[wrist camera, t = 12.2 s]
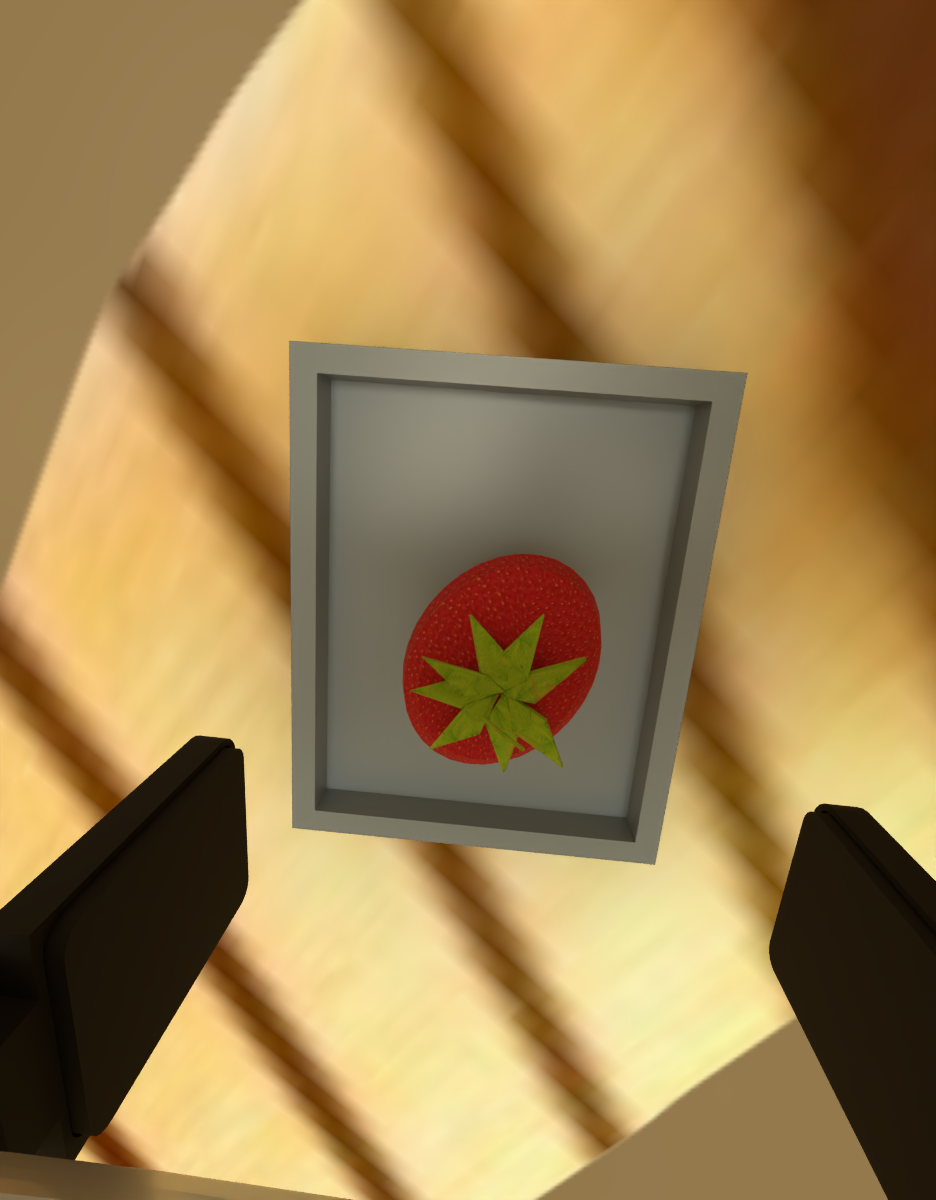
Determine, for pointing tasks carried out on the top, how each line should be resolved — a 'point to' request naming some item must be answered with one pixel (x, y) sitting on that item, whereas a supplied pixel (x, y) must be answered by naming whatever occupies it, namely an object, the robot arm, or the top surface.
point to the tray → (478, 534)
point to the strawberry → (502, 660)
